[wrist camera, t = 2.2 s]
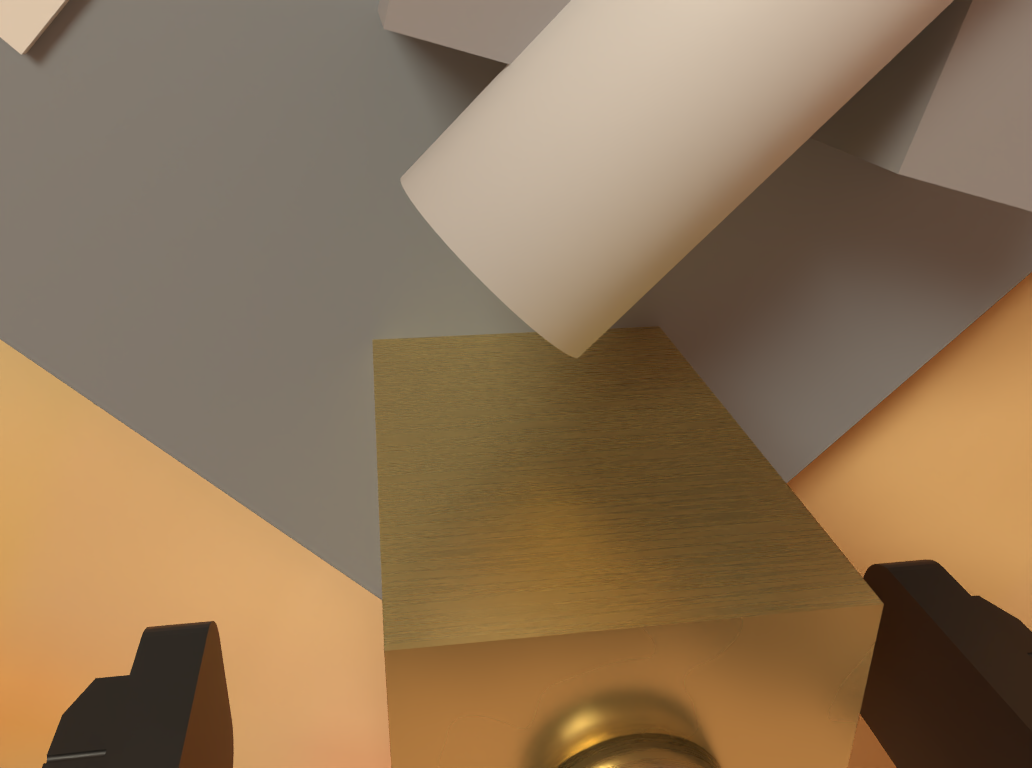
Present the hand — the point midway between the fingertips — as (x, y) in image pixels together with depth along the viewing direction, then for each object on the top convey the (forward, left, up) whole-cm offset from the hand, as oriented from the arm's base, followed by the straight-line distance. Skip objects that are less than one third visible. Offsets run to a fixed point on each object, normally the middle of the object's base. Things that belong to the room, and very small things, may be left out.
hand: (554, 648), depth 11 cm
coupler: (0, 0, -4) cm, 4 cm away
